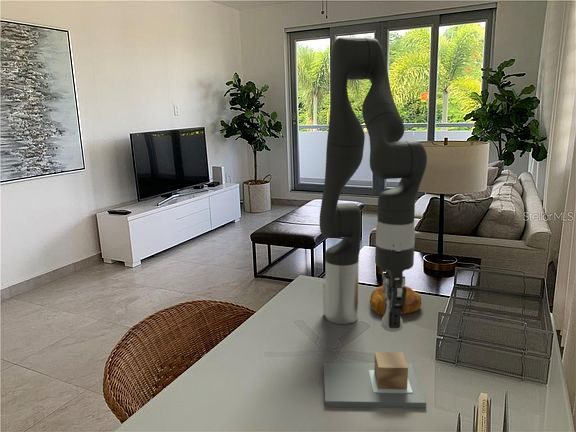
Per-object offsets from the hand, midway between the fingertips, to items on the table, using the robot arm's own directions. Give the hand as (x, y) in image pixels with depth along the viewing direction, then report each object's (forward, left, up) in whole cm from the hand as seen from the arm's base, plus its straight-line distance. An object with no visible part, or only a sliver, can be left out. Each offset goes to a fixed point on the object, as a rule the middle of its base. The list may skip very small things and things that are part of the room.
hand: (392, 321), depth 93 cm
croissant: (-26, +32, -16) cm, 44 cm away
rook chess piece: (0, 0, -2) cm, 2 cm away
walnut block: (0, 0, -14) cm, 14 cm away
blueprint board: (-3, -3, -15) cm, 16 cm away
